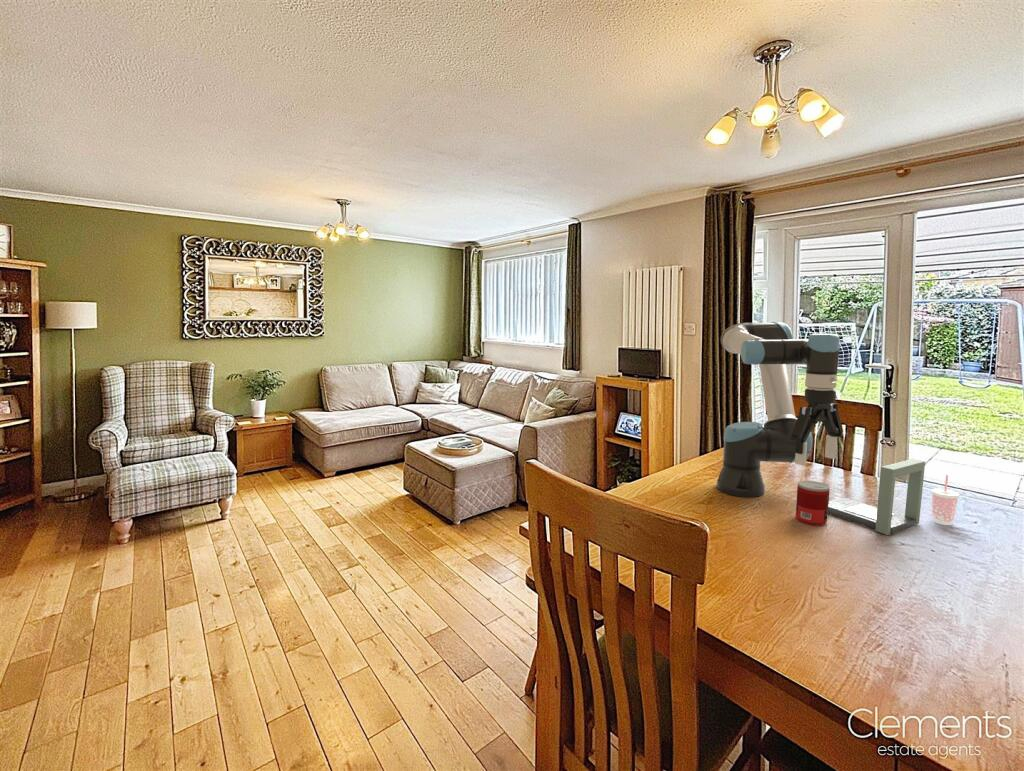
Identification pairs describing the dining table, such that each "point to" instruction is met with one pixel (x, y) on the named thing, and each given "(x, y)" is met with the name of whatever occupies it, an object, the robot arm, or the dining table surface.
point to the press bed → (866, 514)
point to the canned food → (812, 503)
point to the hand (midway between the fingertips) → (815, 461)
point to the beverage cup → (944, 505)
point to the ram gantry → (900, 470)
